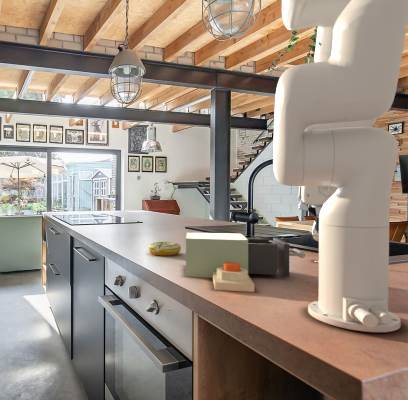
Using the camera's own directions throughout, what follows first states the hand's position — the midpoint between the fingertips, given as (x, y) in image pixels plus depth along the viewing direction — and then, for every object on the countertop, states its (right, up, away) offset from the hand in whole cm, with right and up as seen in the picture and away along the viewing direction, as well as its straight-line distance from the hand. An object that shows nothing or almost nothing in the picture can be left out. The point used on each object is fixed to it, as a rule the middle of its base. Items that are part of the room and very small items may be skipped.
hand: (322, 233), depth 87 cm
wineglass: (+11, -10, +18) cm, 23 cm away
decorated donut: (-34, -10, +34) cm, 49 cm away
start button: (-25, -8, -7) cm, 27 cm away
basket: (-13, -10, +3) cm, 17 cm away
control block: (-25, -11, -7) cm, 28 cm away
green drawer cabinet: (-25, -11, +6) cm, 28 cm away
